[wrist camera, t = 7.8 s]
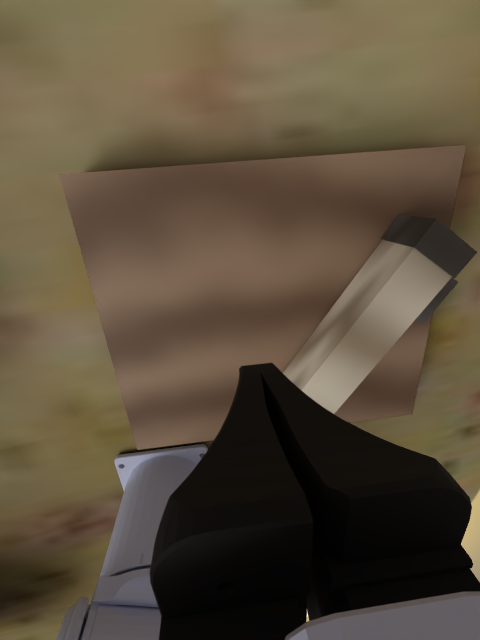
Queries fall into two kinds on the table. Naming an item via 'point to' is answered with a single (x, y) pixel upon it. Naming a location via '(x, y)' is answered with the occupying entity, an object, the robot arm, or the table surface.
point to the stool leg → (377, 308)
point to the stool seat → (245, 273)
